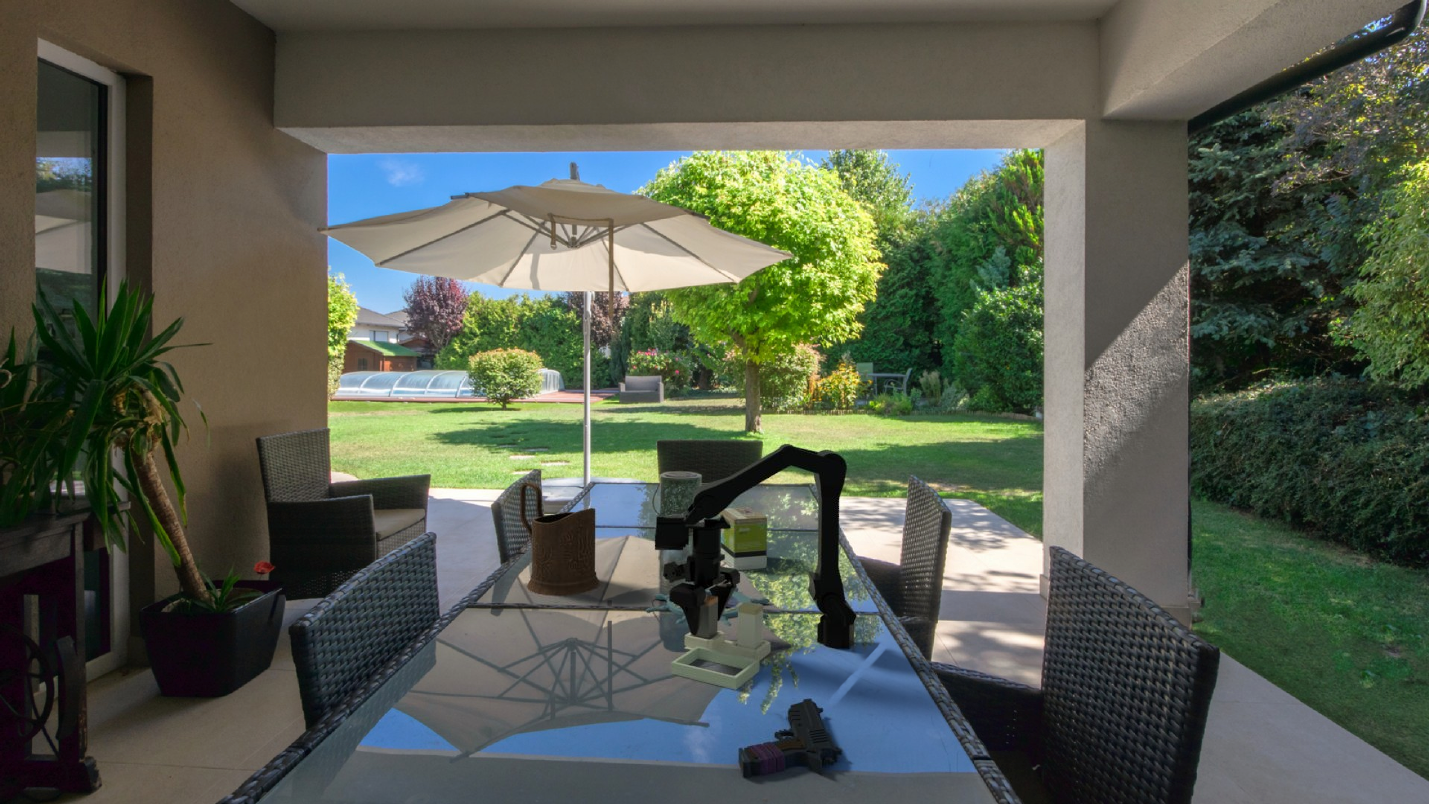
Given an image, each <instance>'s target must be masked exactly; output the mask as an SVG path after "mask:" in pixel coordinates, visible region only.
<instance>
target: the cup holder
mask: <svg viewBox="0 0 1429 804" xmlns="http://www.w3.org/2000/svg"><path fill="white" fill-rule="evenodd" d="M527 487H530V488H532V489H533V490H534V492H535V495H536V496H535V497H536V498H535V501H536V502H535V507H536V508H535V512H536V516H537V517H535V518H533V519H531V525H530V523H529V521H528V520H527V517H526V515H527V514H526V512H527V511H526V505H527V503H526V501H527V498H526V497H527V496H526V495H527V493H526V491H527ZM542 499H543V495H542V490H541V488H540V486H539V485H537V484H536V483H534V482H526V483H523V484H522V485H521V486H520V490H519V502H520V503H519V506H520V507H519V509H520V510H519V512H520V513H519V515H520V516H519V517H520V521H521V524H522V525H523V527H524V529H525V530H526V532H527V533H528V535H529V536H530V538H531V575H530V580H529V581H528V583H527V585H526V589H527V588H528V589H527V590H528V591H529V590H530V591H529V592H531V591H532V592H531V593H533V592H534V594H537V595H541V594H542V595H544V596H554V597H557V596H558V597H559V596H561V597H565V596H575V595H581V594H585V593H590V592H592V591H595V590H597V589H599V588H600V586H601V582H600V580H599V579H598V576H597V572H596V508H594V507H590V508H585V509H581V510H577V511H568V512H559V513H554V514H553V513H552V514H549V515H548V514H547V515H544V514H543V503H542V502H543V501H542Z"/></svg>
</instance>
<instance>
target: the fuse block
mask: <svg viewBox="0 0 1429 804" xmlns="http://www.w3.org/2000/svg"><path fill="white" fill-rule="evenodd" d="M737 644H738V639H736V640H735V641H733V640H732V641H731V640H727V639H726V632H723V631H722V630H718V629H717V635H716V636H715V637H713V638H712V639H710V640H708V639H703V638H698V637H694V636H693V635H692V634H691V632H690V631H689V632H688V633H686V634H685V635H684V646H685V647H684V649H686V650H689V651H690V650H692V649H693V648H695V647H697V646H698V647H703V648H707V649H712V650H716V651H721V652H725V653H729V654H734V655H738V656H743V657H747V658H752V659H756V660H759V662H760V661H762V660H763V659H764V658H765V657H767V656H768V655H769V654H771V645H772V644H771V642H770V641H768V640H764V639H763V645H762V646H760V647H759V648H758V649H756V650H754V649H749V648H744V647H740V646H737Z"/></svg>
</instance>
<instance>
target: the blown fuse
mask: <svg viewBox="0 0 1429 804" xmlns="http://www.w3.org/2000/svg"><path fill="white" fill-rule="evenodd" d="M704 602H706V606H705V609H704V612H703V616H702V619H701V623H700V626H699V629H698V632H697V634H696V635H693V636H694V637H698V638H703V639H708V640H710V639H712V638H713V637H715V636H716V635H717V630H718V625H719V624H718V623H719V621H718V597H717V596H712V595H706V598H705V600H704Z"/></svg>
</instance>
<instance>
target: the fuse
mask: <svg viewBox="0 0 1429 804" xmlns="http://www.w3.org/2000/svg"><path fill="white" fill-rule="evenodd" d="M763 612H764V604H755V603H750V602H746V603H744V604H742V605H741V606H739V607H738V616H737V640H738V644H737V646H740V647H744V648H749V649H754V650H756V649H758V648H759V647H760V646H762V645H763V640H764V638H763V635H764V634H763V633H764V618H763Z"/></svg>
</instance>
